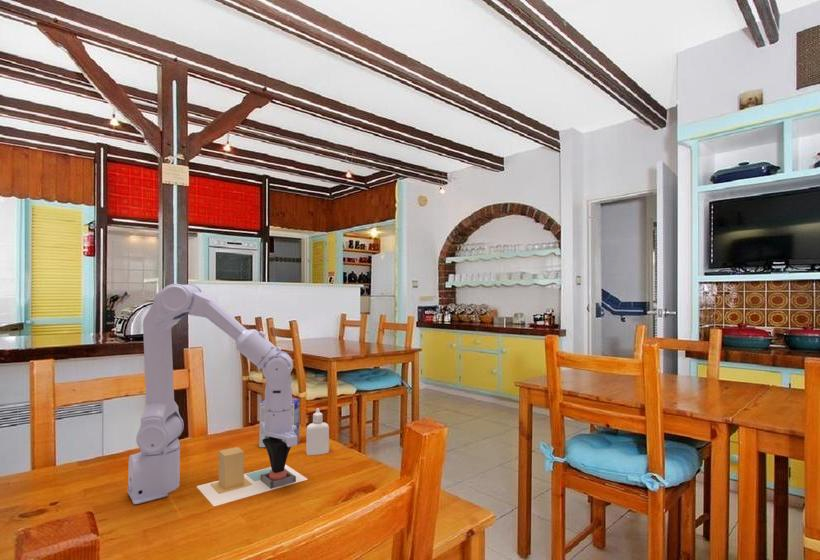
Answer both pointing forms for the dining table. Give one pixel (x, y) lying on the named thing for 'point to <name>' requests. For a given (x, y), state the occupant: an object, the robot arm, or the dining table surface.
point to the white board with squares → (248, 486)
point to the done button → (277, 475)
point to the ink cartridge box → (294, 420)
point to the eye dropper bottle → (317, 435)
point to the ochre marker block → (231, 468)
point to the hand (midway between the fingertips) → (278, 471)
